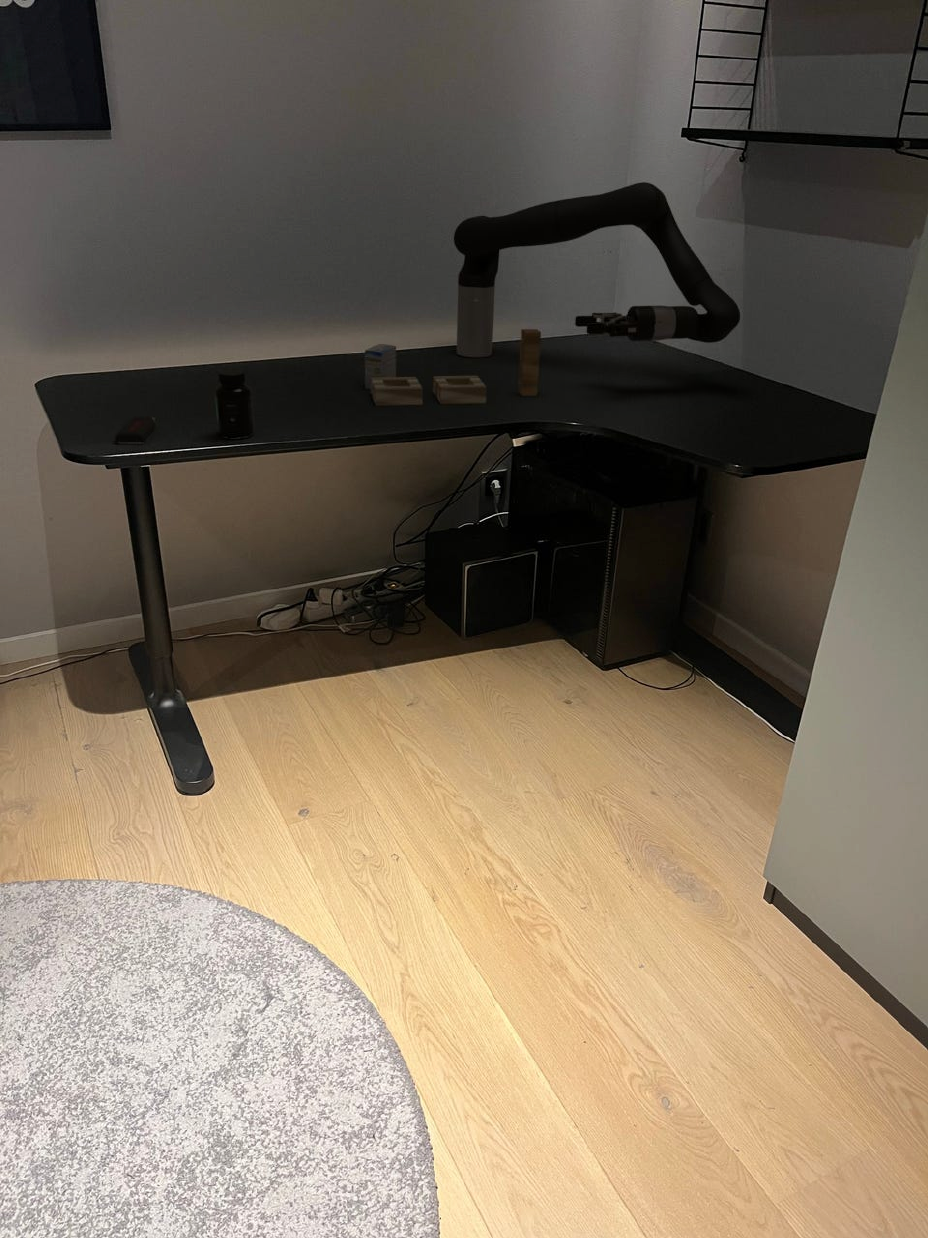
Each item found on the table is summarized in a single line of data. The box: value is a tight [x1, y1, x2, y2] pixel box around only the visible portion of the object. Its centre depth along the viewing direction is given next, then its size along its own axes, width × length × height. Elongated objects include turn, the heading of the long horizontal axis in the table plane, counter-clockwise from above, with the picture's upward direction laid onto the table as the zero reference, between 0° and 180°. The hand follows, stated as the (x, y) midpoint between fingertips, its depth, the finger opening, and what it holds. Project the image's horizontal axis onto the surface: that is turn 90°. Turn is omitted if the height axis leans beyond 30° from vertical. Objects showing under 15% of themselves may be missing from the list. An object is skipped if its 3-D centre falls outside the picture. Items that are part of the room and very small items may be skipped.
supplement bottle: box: [214, 368, 255, 438], centre depth 185 cm, size 7×7×12 cm
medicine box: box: [364, 343, 397, 390], centre depth 221 cm, size 8×4×9 cm, turn 160°
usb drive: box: [114, 416, 157, 443], centre depth 185 cm, size 5×12×3 cm, turn 1°
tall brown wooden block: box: [517, 328, 542, 397], centre depth 217 cm, size 4×4×14 cm
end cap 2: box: [432, 375, 488, 405], centre depth 215 cm, size 10×10×4 cm
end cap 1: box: [370, 376, 424, 407], centre depth 212 cm, size 10×10×4 cm
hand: (581, 324), depth 215 cm, fingers open, 8 cm apart
